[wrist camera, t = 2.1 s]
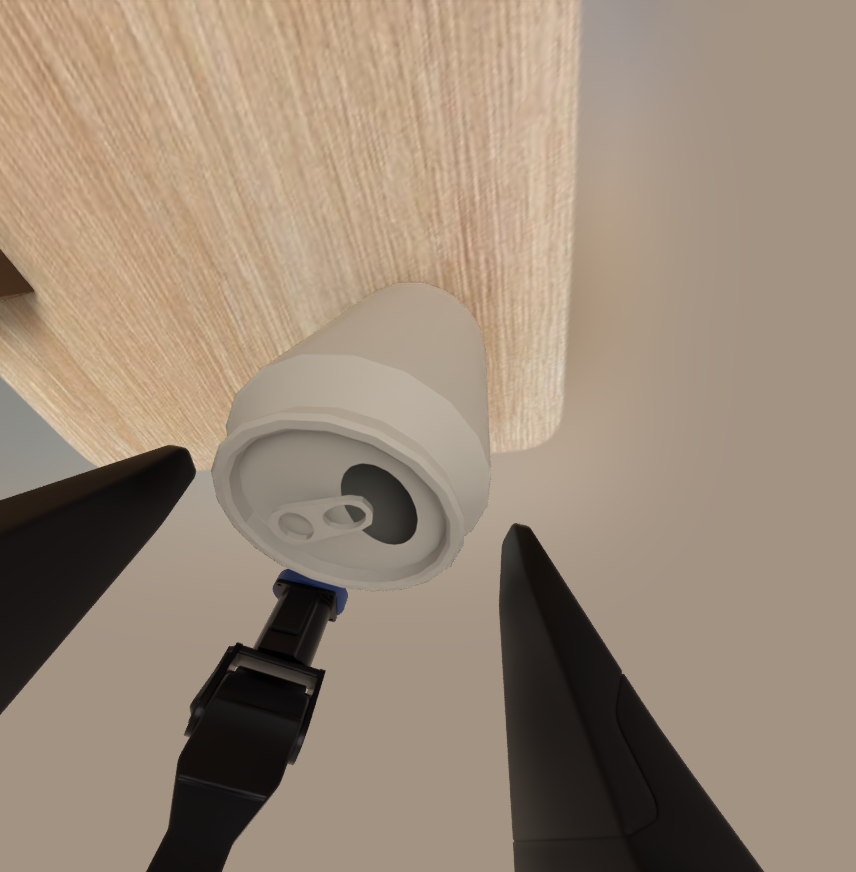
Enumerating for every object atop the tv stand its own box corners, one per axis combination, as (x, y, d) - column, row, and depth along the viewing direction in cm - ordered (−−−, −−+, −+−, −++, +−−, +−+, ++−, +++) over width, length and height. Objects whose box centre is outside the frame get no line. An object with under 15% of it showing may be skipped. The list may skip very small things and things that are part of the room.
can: (491, 405, 18) (503, 616, 9) (373, 417, 20) (272, 605, 10) (477, 263, 14) (473, 360, 4) (331, 293, 16) (96, 411, 6)
